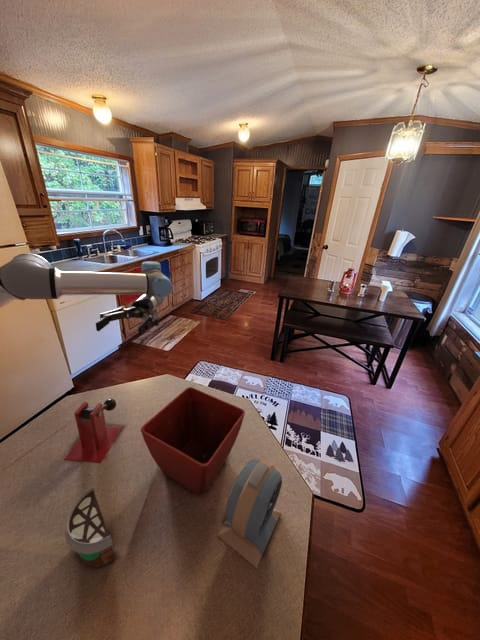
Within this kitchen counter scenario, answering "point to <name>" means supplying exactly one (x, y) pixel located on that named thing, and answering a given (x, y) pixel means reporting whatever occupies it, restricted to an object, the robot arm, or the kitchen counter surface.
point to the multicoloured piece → (89, 532)
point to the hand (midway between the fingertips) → (118, 329)
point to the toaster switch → (92, 436)
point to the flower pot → (193, 437)
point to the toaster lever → (108, 406)
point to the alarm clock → (252, 510)
